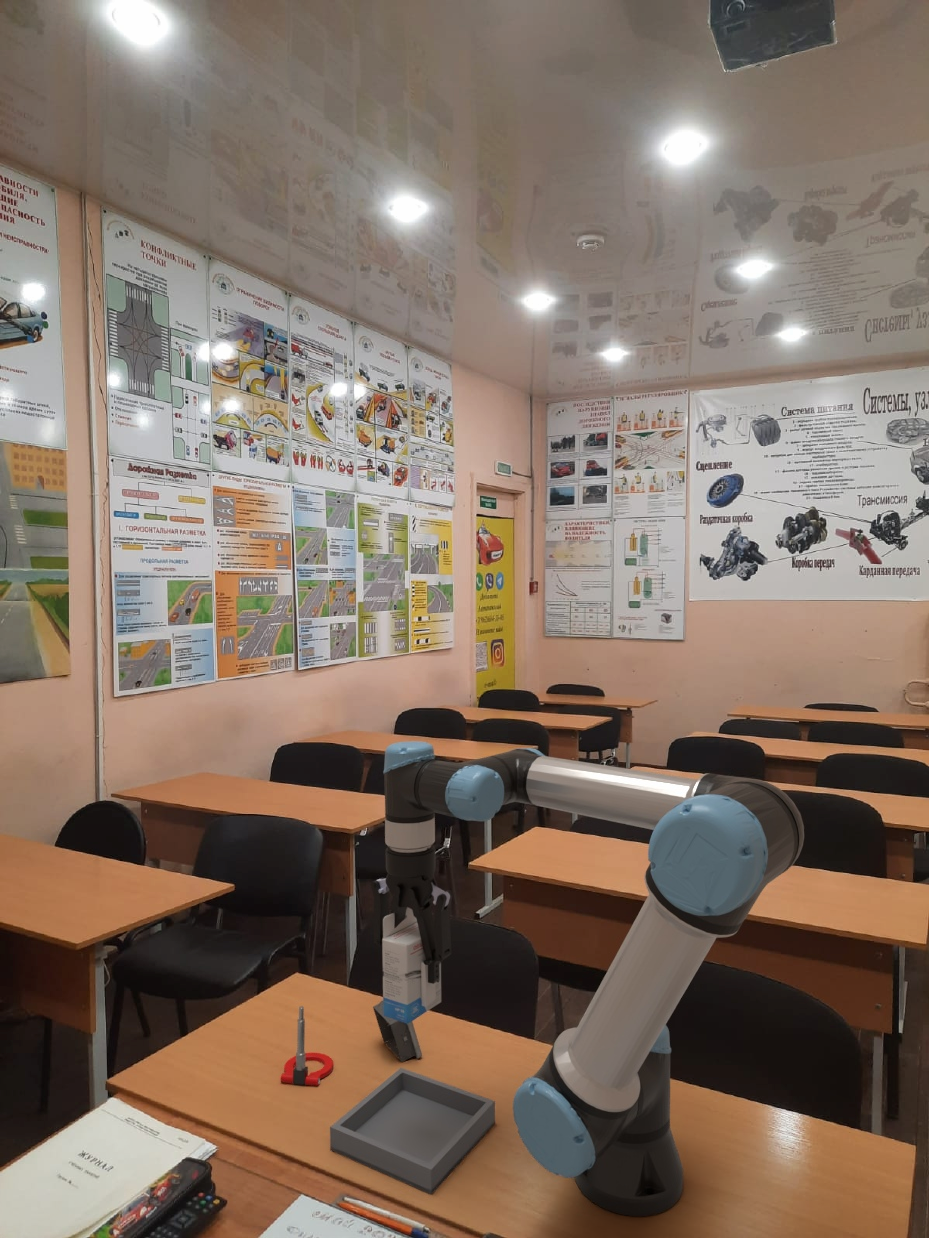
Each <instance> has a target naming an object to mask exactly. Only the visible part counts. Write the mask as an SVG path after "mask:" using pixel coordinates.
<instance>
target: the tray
mask: <svg viewBox="0 0 929 1238" xmlns="http://www.w3.org/2000/svg"><path fill="white" fill-rule="evenodd" d="M495 1124H496V1101H495V1100H493V1099H490V1098H487V1097H484V1096H482V1095H479V1094H476V1093H474V1092H470V1091H468V1090H465V1089H462V1088H460V1087H456V1086H453V1085H451V1084H448V1083H445V1082H443V1081H439V1080H437V1079H434V1078H431V1077H428V1076H425V1075H422V1074H420V1073H417V1072H414V1071H412V1070H409V1069H406V1068H403V1067H400V1068H398V1069H397V1070H396V1071H395V1072H394V1073H393V1074H392V1075H390V1076H389V1077H388V1078H387V1079H386V1080H384V1081H383V1082H382V1083H381V1084H380V1085H379V1086H377V1087H375V1089H373V1090H372V1091H371V1092H370V1093H369V1094H367V1095H366V1096H364V1098H363V1099H361V1100H360V1102H358V1103H357V1104H355V1106H354V1107H352V1108H351V1109H349V1111H347V1112H346V1113H345V1114H344V1115H343V1116H341V1117H340V1118H338V1119H337V1120H336V1122H334V1123H333V1124H332V1125H331V1126H330V1127H329V1135H330V1137H329V1141H330V1142H329V1143H330V1145H329V1146H330V1147H329V1149H330V1151H331V1150H332V1151H331V1152H333V1151H334V1153H336V1154H339V1155H340V1156H343V1157H344V1158H347V1159H348V1160H349V1159H350V1160H351V1161H354V1162H356V1163H358V1164H361V1165H363V1166H365V1167H368V1168H370V1169H371V1170H374V1171H376V1172H379V1173H381V1174H383V1175H386V1176H388V1177H390V1178H392V1179H395V1180H396V1181H399V1182H401V1183H404V1184H406V1185H409V1186H410V1187H412V1188H415V1189H417V1190H420V1191H421V1192H424V1193H426V1194H429V1195H430V1196H431V1195H433V1193H434V1192H435V1191H437V1189H438V1188H440V1186H441V1185H442V1183H444V1182H445V1180H446V1179H447V1178H448V1177H449V1176H450V1174H451V1173H452V1172H453V1171H454V1170H455V1169H456V1168H457V1167H458V1166H459V1165H460V1163H461V1162H462V1161H463V1160H464V1159H465V1157H467V1155H468V1154H469V1153H470V1152H471V1151H472V1149H474V1147H475V1146H476V1145H477V1144H478V1143H479V1142H480V1141H481V1140H482V1138H483V1137H484V1136H485V1135H486V1134H487V1133H488V1132H489V1130H491V1128H492V1127H493V1126H494V1125H495Z"/></svg>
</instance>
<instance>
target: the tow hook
mask: <svg viewBox="0 0 929 1238" xmlns="http://www.w3.org/2000/svg"><path fill="white" fill-rule="evenodd" d="M298 1009H299V1010H298V1019H297V1035H296V1036H297V1041H296V1042H297V1043H296V1044H297V1045H296V1046H297V1052H296V1053H295V1055H294V1056H293V1057H291V1058H289V1059H288V1060H286V1062H285V1064H284V1069H283V1070H284V1071H283V1073H282V1074H281V1075H280V1082H281V1083H285V1084H293V1085H299V1086H317V1087H318V1086H320V1083H321V1079H323V1078H325V1077H327V1076H329V1075H330V1074H331V1072H333V1070H334V1061H333V1058H331V1056H329V1055H327V1054H324V1053H320V1052H305V1040H306V1039H305V1034H306V1033H305V1027H306V1026H305V1024H306V1022H305V1018H304V1016H305V1015H304V1013H305V1012H304V1010H305V1009H304V1006H303V1005H302V1006H299V1008H298ZM310 1061H314V1062H319V1063H322V1065H323V1067H322V1068H320V1069H318V1070H316V1071H312V1072H310V1073H309V1066H306V1062H310Z"/></svg>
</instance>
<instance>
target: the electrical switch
mask: <svg viewBox="0 0 929 1238" xmlns="http://www.w3.org/2000/svg"><path fill="white" fill-rule="evenodd" d="M372 1008H373V1012H374V1014H375V1018H376V1021H377V1024H378V1027H379V1031H380V1034H381V1038H382V1041H383V1043H384V1045H386V1044H387V1045H386V1047H387V1048H388V1049H389V1050H390V1051H391V1052H392V1053H393V1054H394V1055H395V1057H396V1058H398V1060H399V1061H400V1062H401V1063H404V1062H405V1061H408V1060H409V1059H411V1058H413V1057H415V1058H416V1059H420V1058H422V1056H423V1053H422V1050H421V1045H420V1043H419V1039H418V1036H417V1033H416V1032H417V1031H416V1030H415V1026H414V1023H413V1021H412V1022H410V1023H409V1024H406V1023H404V1022H401V1021H398V1020H395V1019H392V1018H389V1017H386V1016H384V1015H383V1000H380V1002H379V1003H377V1004H375V1005H374V1006H372Z"/></svg>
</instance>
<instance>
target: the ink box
mask: <svg viewBox="0 0 929 1238" xmlns="http://www.w3.org/2000/svg"><path fill="white" fill-rule="evenodd" d="M394 923H395V916H394V913H392V914H391V913H389V915H388V916H385V917H384V918H383V939H382V947H381V948H382V1001H383V1015H384V1016H386V1017H389V1018H392V1019H395V1020H398V1021H401V1022H404V1023H406V1024H409V1023H410V1022H413V1021H415V1020H416V1019H417V1018H419V1017H421V1016H422V1015H424V1014H425V1013H427V1012H428V1011H430V1010H431V1009H432V1008H434V1007H436V1006H437V1005H440V1003H442V961H439V971H440V973H439V974H440V977H439V980H438V981H437V982H435V983H436V999H435V1000H434V1001H433V1002H432V1003H430V1004H429V1005H428V1006H426V1007H424V1006H422V994H421V962H422V961H424V960H425V954H424V950H423V945H422V941H421V937H420V932H419V928H418V923H417V919H416V917H414V915H413V911H412V909H410V908H408V907H407V910H406V914H405V919H404V920H403V921H402V922H401V923H400V924H399V925H398V926H397V927H396V928H395V929H394Z"/></svg>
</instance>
